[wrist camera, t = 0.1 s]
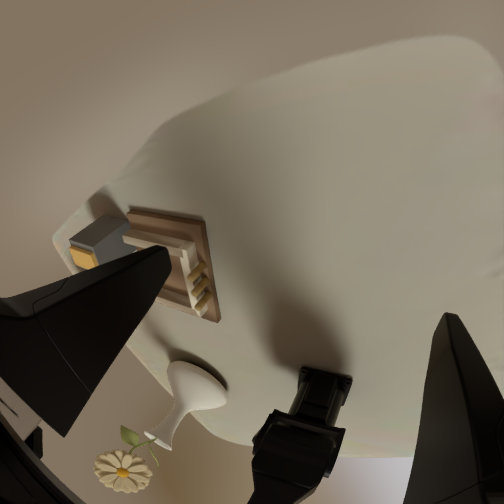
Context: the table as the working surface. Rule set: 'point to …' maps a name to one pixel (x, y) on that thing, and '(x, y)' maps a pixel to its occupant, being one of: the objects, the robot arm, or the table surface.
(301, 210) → the table surface
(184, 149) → the table surface
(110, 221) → the plug block
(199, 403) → the flower in vase
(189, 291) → the pin socket
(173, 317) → the table surface
